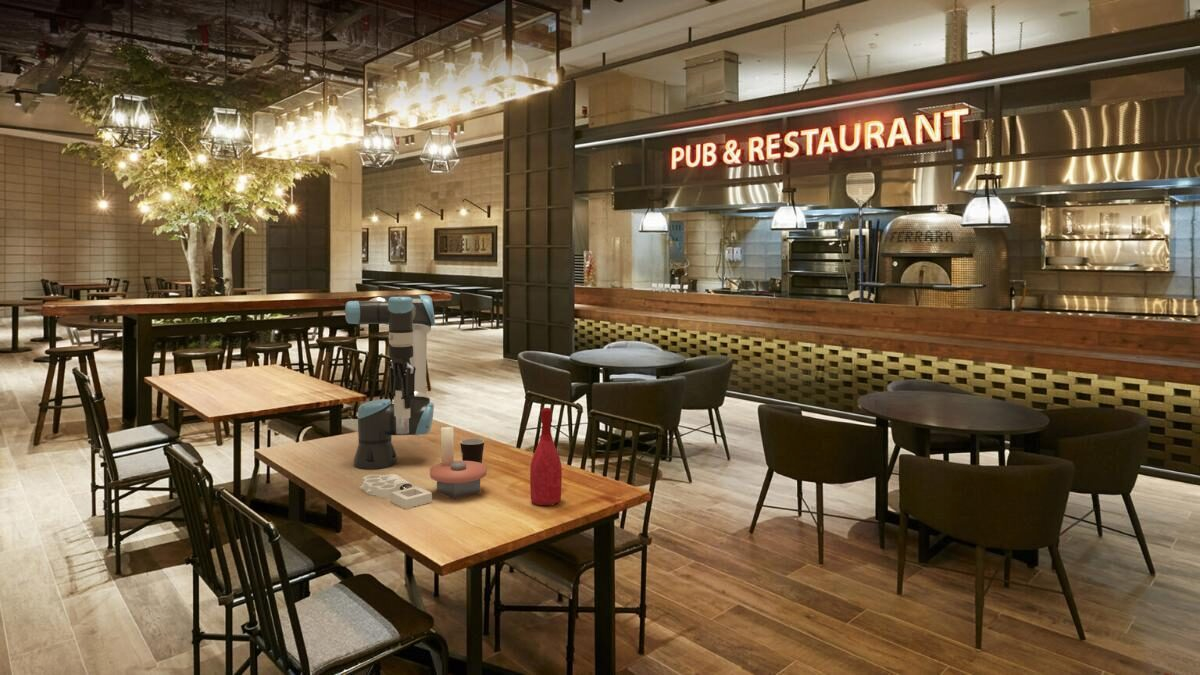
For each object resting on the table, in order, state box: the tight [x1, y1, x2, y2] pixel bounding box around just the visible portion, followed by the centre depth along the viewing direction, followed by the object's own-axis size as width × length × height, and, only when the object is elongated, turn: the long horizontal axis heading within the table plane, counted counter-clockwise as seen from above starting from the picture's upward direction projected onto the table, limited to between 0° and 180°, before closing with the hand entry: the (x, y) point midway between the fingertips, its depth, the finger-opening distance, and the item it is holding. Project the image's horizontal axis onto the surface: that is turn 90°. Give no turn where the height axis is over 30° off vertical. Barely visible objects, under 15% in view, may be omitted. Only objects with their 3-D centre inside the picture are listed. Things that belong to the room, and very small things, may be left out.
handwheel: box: [429, 426, 488, 483], centre depth 232 cm, size 18×18×14 cm
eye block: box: [390, 486, 433, 510], centre depth 223 cm, size 9×9×3 cm
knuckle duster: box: [358, 473, 414, 499], centre depth 235 cm, size 3×18×15 cm
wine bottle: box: [529, 407, 563, 506], centre depth 224 cm, size 10×10×30 cm
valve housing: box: [436, 479, 481, 500], centre depth 233 cm, size 10×10×6 cm
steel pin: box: [395, 389, 409, 434], centre depth 232 cm, size 4×4×14 cm
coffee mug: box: [459, 438, 485, 464], centre depth 261 cm, size 12×9×10 cm
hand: (402, 416), depth 232 cm, fingers closed on steel pin, 4 cm apart
